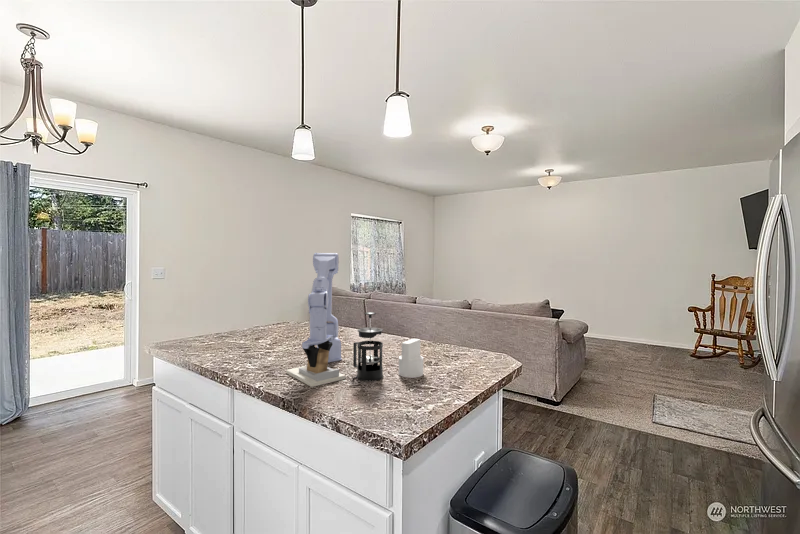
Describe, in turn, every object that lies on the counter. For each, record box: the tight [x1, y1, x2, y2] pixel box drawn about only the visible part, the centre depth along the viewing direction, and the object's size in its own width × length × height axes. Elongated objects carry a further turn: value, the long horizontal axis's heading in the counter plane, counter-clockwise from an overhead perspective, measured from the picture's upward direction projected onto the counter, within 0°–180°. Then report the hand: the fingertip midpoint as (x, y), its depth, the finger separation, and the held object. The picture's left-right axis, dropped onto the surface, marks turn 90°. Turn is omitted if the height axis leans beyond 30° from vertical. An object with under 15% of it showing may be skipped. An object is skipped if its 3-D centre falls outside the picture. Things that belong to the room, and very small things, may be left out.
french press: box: [352, 311, 384, 382], centre depth 131 cm, size 12×9×23 cm
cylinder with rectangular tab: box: [398, 338, 424, 379], centre depth 136 cm, size 9×9×12 cm
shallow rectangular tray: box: [285, 365, 346, 388], centre depth 132 cm, size 13×19×4 cm
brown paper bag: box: [306, 348, 329, 373], centre depth 131 cm, size 5×5×8 cm
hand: (318, 364), depth 131 cm, fingers open, 5 cm apart
